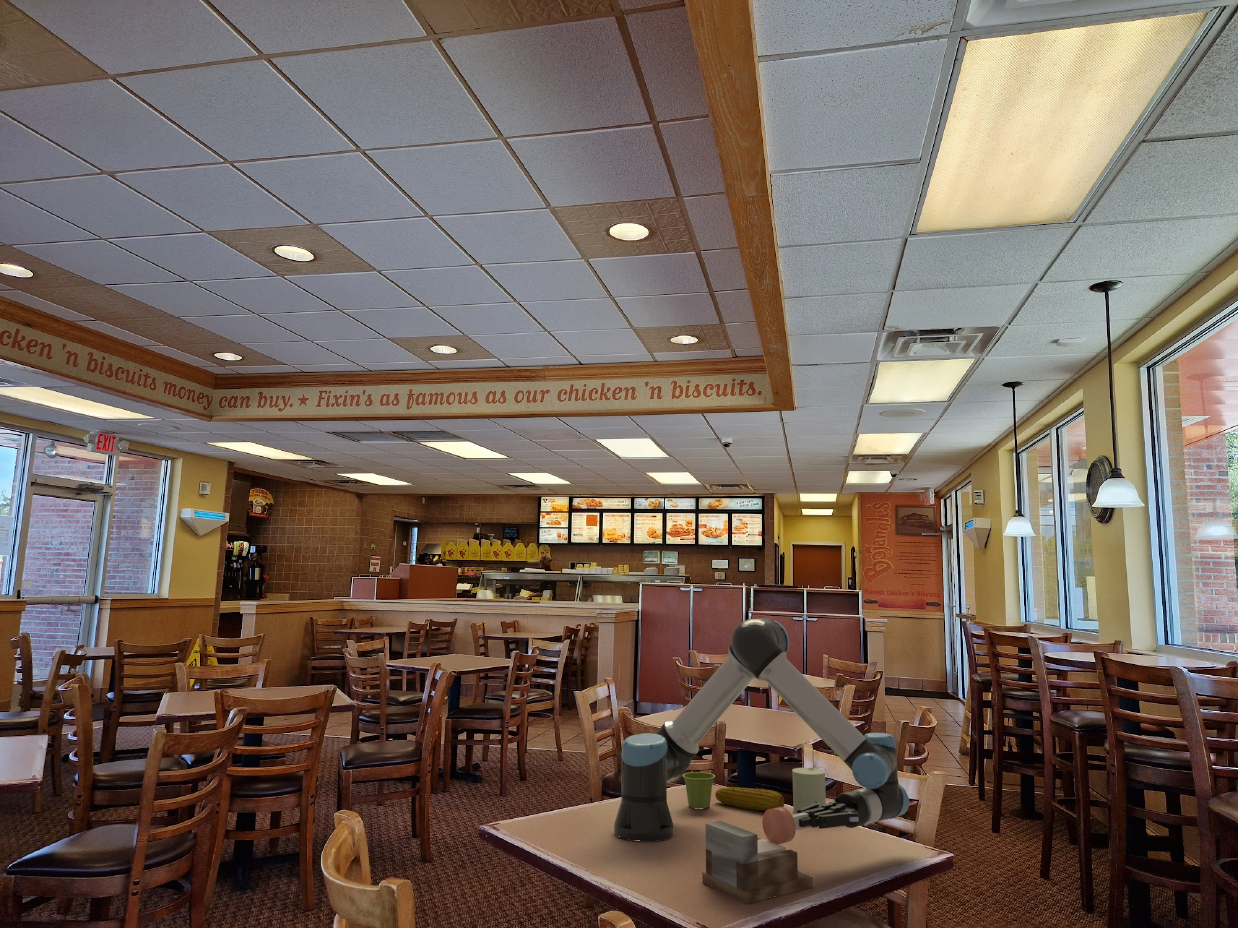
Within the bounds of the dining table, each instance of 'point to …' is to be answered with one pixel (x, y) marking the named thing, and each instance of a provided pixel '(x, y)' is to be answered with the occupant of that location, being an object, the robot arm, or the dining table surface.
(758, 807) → the food
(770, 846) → the plunger
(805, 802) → the can
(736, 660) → the robot arm
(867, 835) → the dining table surface
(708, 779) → the plant pot
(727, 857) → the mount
